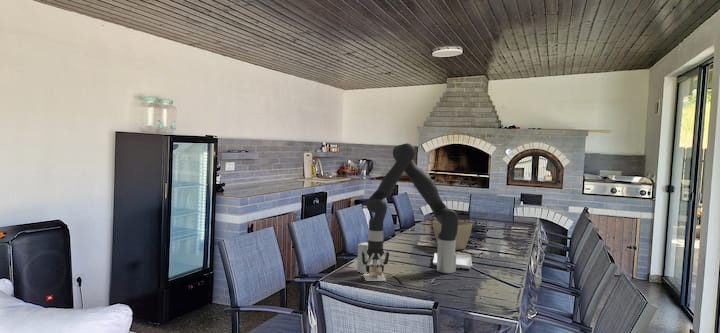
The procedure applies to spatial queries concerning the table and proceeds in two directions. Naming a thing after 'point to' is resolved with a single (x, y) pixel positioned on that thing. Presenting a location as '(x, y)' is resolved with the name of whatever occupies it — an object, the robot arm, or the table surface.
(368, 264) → the robot arm
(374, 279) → the post
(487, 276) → the table surface
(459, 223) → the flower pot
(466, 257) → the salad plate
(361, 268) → the skincare box
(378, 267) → the ring
